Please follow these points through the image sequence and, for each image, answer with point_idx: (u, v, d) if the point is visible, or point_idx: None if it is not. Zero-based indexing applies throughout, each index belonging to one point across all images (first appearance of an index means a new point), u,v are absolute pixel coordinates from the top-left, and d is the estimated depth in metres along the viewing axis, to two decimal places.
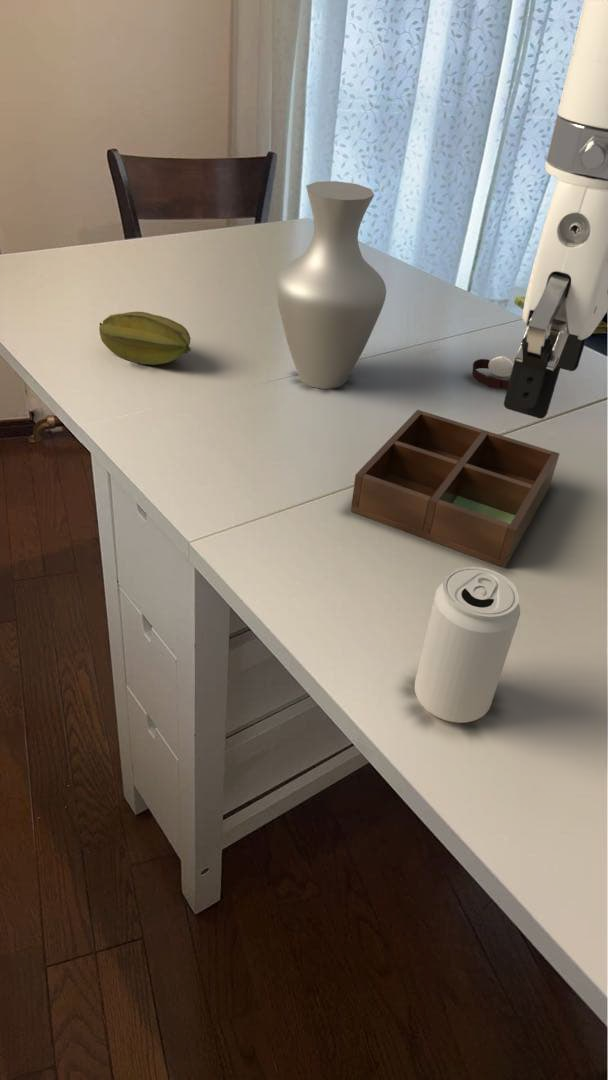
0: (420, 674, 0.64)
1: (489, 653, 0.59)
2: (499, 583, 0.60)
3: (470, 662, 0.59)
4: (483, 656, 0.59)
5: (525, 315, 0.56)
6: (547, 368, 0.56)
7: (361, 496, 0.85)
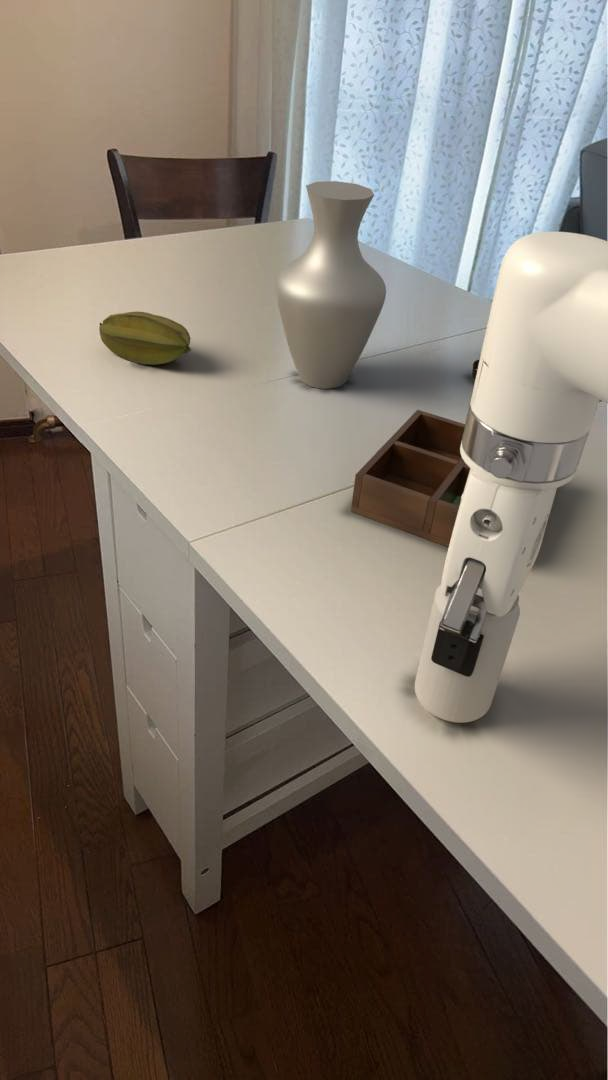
0: (420, 674, 0.64)
1: (489, 653, 0.59)
2: None
3: None
4: (482, 656, 0.59)
5: (443, 588, 0.54)
6: (469, 641, 0.56)
7: (361, 496, 0.85)
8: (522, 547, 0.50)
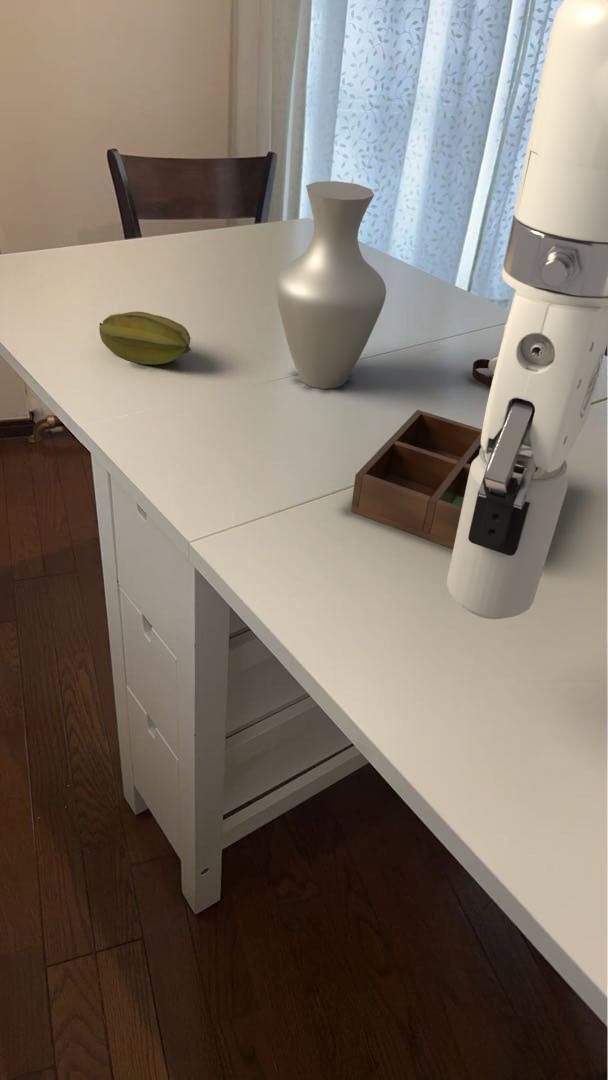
0: (454, 565, 0.57)
1: (534, 529, 0.52)
2: None
3: None
4: (527, 532, 0.52)
5: (484, 443, 0.47)
6: (514, 507, 0.49)
7: (361, 496, 0.85)
8: (578, 378, 0.43)
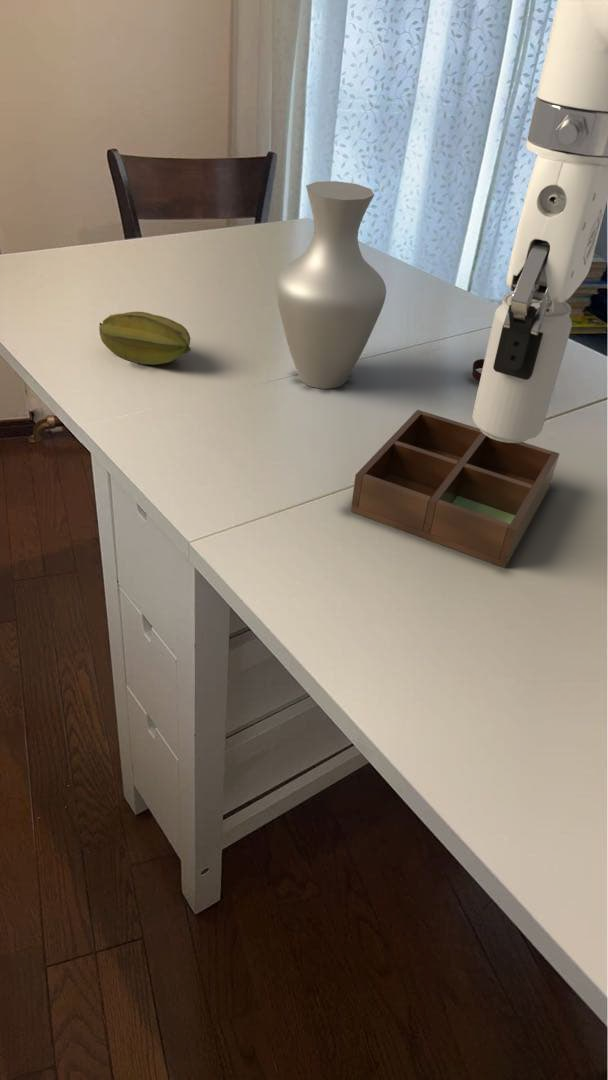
0: (479, 398, 0.71)
1: (545, 358, 0.66)
2: (552, 300, 0.67)
3: None
4: (539, 360, 0.66)
5: (509, 280, 0.61)
6: (531, 333, 0.63)
7: (361, 496, 0.85)
8: (583, 221, 0.57)
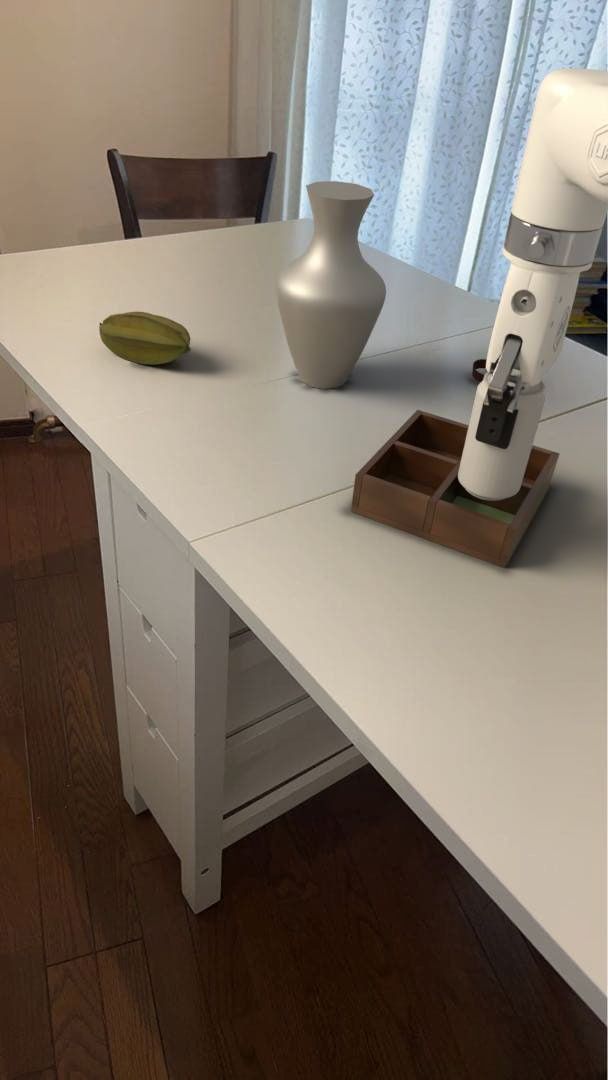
0: (463, 461, 0.80)
1: (521, 430, 0.74)
2: None
3: None
4: (515, 432, 0.74)
5: (488, 366, 0.70)
6: (507, 411, 0.71)
7: (361, 496, 0.85)
8: (551, 320, 0.66)
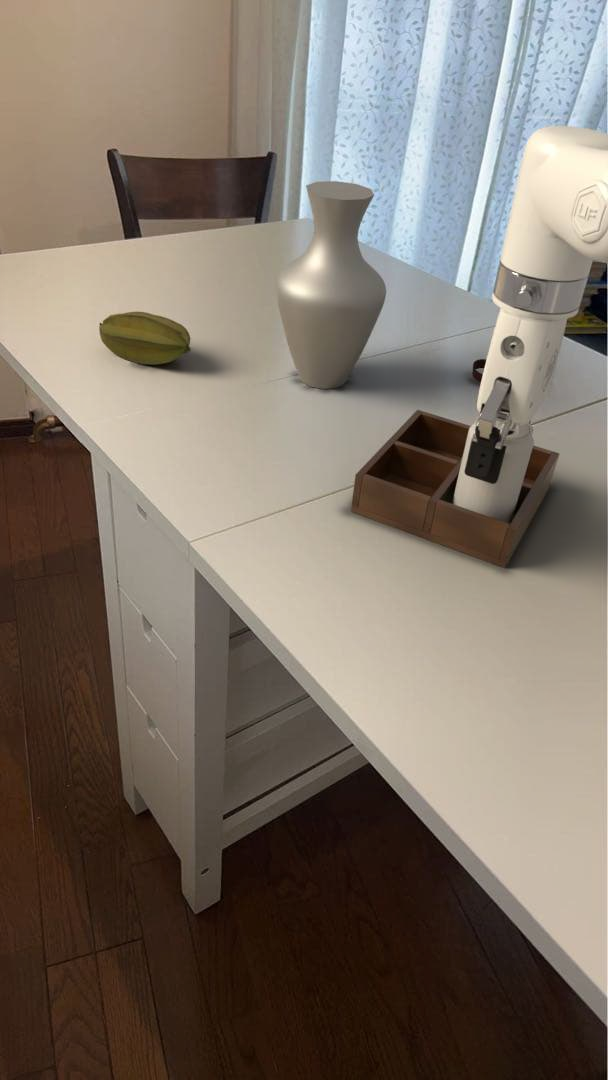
0: (455, 500, 0.82)
1: (510, 472, 0.77)
2: None
3: None
4: (505, 474, 0.77)
5: (478, 407, 0.72)
6: (495, 447, 0.72)
7: (361, 496, 0.85)
8: (539, 365, 0.68)
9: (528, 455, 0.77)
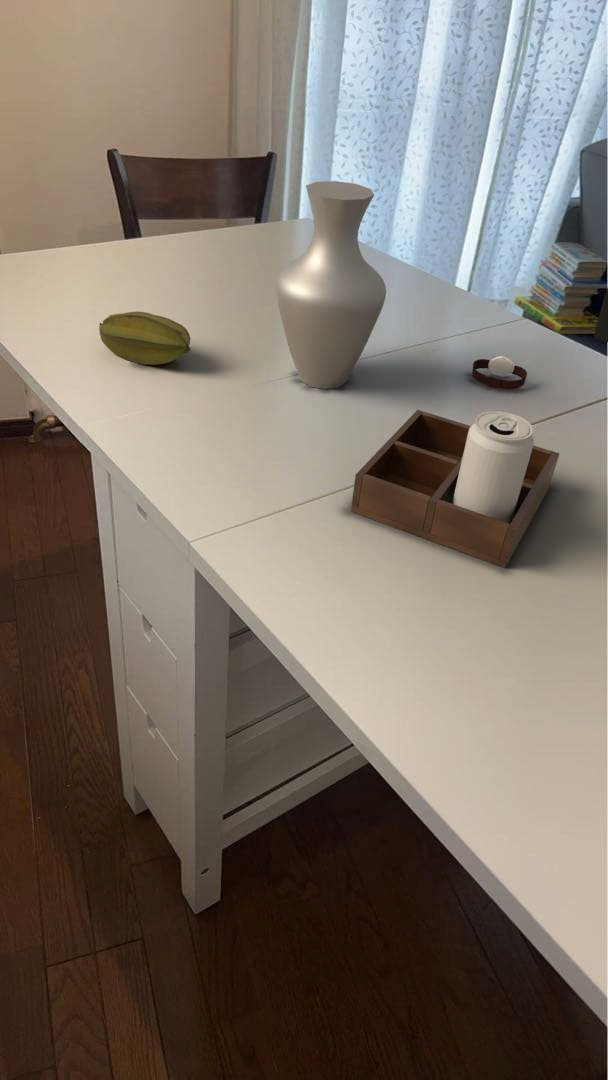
0: (455, 500, 0.82)
1: (510, 472, 0.77)
2: (517, 421, 0.78)
3: (496, 480, 0.78)
4: (505, 474, 0.77)
5: None
6: None
7: (361, 496, 0.85)
8: None
9: (528, 455, 0.77)
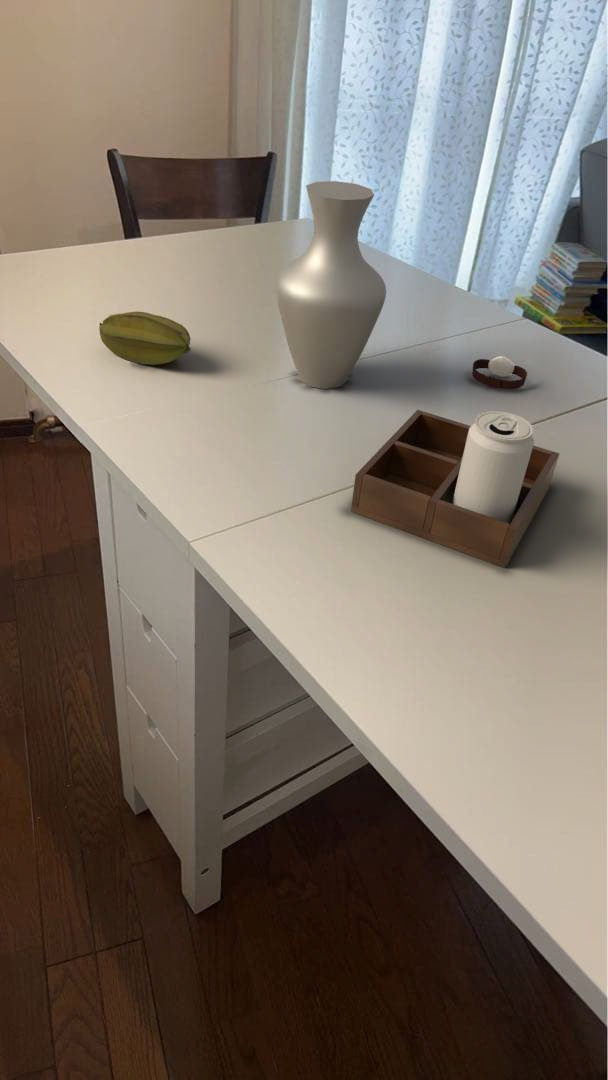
0: (455, 499, 0.82)
1: (510, 472, 0.77)
2: (518, 421, 0.78)
3: (496, 480, 0.78)
4: (505, 474, 0.77)
5: None
6: None
7: (361, 496, 0.85)
8: None
9: (528, 455, 0.77)
